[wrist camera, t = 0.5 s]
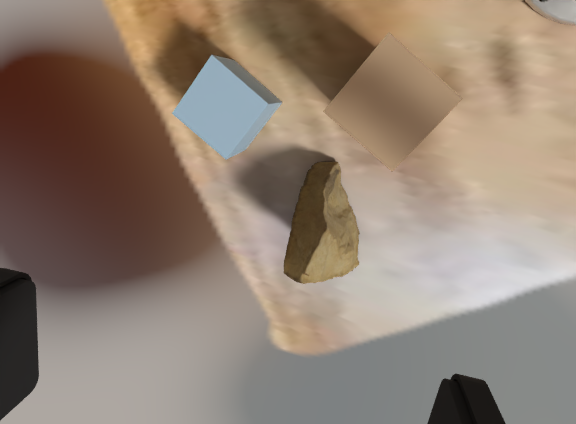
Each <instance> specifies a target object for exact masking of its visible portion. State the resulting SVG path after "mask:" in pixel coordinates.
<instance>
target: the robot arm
mask: <svg viewBox="0 0 576 424" xmlns="http://www.w3.org/2000/svg"><path fill="white" fill-rule="evenodd" d="M525 1H526V2H527V3H528V4H529V5H530V6H531V7H532V9H533V10H535V11H536V12H538V13H539V14H541V15H542V16H544V17H545V18H547V19H550V20H553V21H556V22H558V23H561V24H568V25H575V26H576V0H542V1H541V2H540V1H539V0H525ZM38 377H39V370H38V340H37V309H36V287H35V284H34V282H32V280H31V277H30V276H29V275H28V274H26V273H23V272H19V271H14V270H10V269H5V268H0V420H1V419H2V418H3V417H5V416H6V415H7V414H8V413H9V412H10V411H11V410H12V409H13V408H14V407H16V406H17V405H18V404H19V403H20V402H21V401H22V400H23V399H24V398H25V397H27V396H28V395H29V394H30V393H31V392H32V391H33V389H34V388H35V386H36V384H37V381H38ZM428 424H505V422H504V419H503V418H502V415H501V413H500V411H499V409H498V407H497V404H496V402H495V400H494V398H493V396H492V394H491V392H490V389H489V387H488V385H487V384H486V382H485V381H484V380H481V379H476V378H472V377H468V376H464V375H459V374H454V375H453V376H452V377H451V379H450V380H449V379H443V380H442V382H441V385H440V387H439V390H438V393H437V396H436V399H435V403H434V406H433V409H432V412H431V415H430V418H429V421H428Z"/></svg>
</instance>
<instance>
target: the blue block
mask: <svg viewBox="0 0 576 424" xmlns="http://www.w3.org/2000/svg"><path fill="white" fill-rule="evenodd" d="M281 104H282V101H281V100H279V99H278V98H277V97H276V96H275V95H274V94H273V93H271V92H270V91H269V90H268V89H267V88H266V87H265V86H263V85H262V84H261V83H260V82H259V81H258V80H256V79H255V78H254V77H253V76H252V75H251V74H250V73H248V72H247V71H246V70H245V69H244V68H243V67H242V66H240V65H239V64H238V63H237V62H236V61H235V60H232V59H228V58H224V57H220V56H215V55H211V56H210V58H209V59H208V61H207V62H206V64H205V65H204V67H203V68H202V70H201V71H200V73H199V74H198V76H197V77H196V79H195V80H194V82H193V83H192V85H191V86H190V88H189V89H188V91H187V92H186V94H185V95H184V97H183V98H182V99H181V101H180V102H179V104H178V105H177V107H176V108H175V110H174V111H173V113H172V114H173V115H174V116H176V117H177V118H178V119H179V120H180V121H181V122H183V123H184V124H185V125H186V126H187V127H189V128H190V129H191V130H192V131H193V132H194V133H196V134H197V135H198V136H199V137H200V138H201V139H203V140H204V141H205V142H206V143H207V144H208V145H210V146H211V147H212V148H213V149H214V150H215V151H217V152H218V153H219V154H220V155H221V156H222V157H224V158H225V159H228V158H230V157H232V156H234V155H236V154H238V153H240V152H242V151H244V150H246V148H247V147H248V146H249V145H250V143H251V142H252V141H253V139H254V138H255V137H256V136H257V134H258V133H259V132H260V130H261V129H262V128H263V127H264V125H265V124H266V123H267V121H268V120H269V119H270V118H271V116H272V115H273V114H274V113H275V111H276V110H277V109H278V107H279V106H280V105H281Z"/></svg>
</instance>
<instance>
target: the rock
mask: <svg viewBox="0 0 576 424" xmlns="http://www.w3.org/2000/svg"><path fill="white" fill-rule="evenodd" d="M340 174H341V169H340V166H339V164H338V162H317V163H315V164H314V165H313V166H312V167H311V169H310V170H308V172H307V175H306V179H305V181H304V185H303V186H302V188H301V191H300V194H299V199H298V202H297V204H296V208H295V212H294V215H293V219H292V229H291V232H290V237H289V242H288V245H287V250H286V256H285V260H284V274H286V275H287V276H288V277H290V278H291V279H293V280H294V281H296V282H299V283H303V284H305V283H316V282H323V281H326V280H328V279H333V278H334V277H342V276H344V275H346V274H348V273H349V272H350V271H353V269H354V268H356V267H357V266H358V265H359V261H358V258H357V255H358V242H359V238H358V235H359V230H358V227H357V223H356V217H355V215H354V213H353V210H352V208H351V206H349V202H348V197H347V194H346V192H345V190H344V189H343V187H342V185H341V175H340Z"/></svg>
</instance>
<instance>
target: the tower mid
mask: <svg viewBox="0 0 576 424" xmlns="http://www.w3.org/2000/svg"><path fill="white" fill-rule="evenodd" d="M462 99H463V98H462V97H460V96H459V95H458V94H457V93H456V92H455V91H454V90H453V89H452V88H450V87H449V86H448V85H447V84H446V83H445V82H444V81H443V80H442V79H440V78H439V77H438V76H437V75H436V74H435V73H434V72H433V71H432V70H431V69H429V68H428V67H427V66H426V65H425V64H424V63H423V62H422V61H421V60H419V59H418V58H417V57H416V56H415V55H414V54H413V53H412V52H411V51H409V50H408V49H407V48H406V47H405V46H404V45H403V44H402V43H401V42H399V41H398V40H397V39H396V38H395V37H394V36H393V35H392V34H391V33H388V34H387V35H386V36H385V37H384V39H383V40H382V41H381V42H380V43H379V45H378V46H377V47H376V48H375V49H374V51H373V52H372V53H371V54H370V55H369V57H368V58H367V59H366V60H365V62H364V63H363V64H362V65H361V66H360V68H359V69H358V70H357V71H356V72H355V74H354V75H353V76H352V77H351V78H350V80H349V81H348V82H347V83H346V84H345V86H344V87H343V88H342V89H341V90H340V92H339V93H338V94H337V95H336V96H335V98H334V99H333V100H332V101H331V102H330V104H329V105H328V106H327V107H326V109H325V110H324V111H323V112H325V113H326V114H327V115H328V116H329V117H330V118H331V119H333V120H334V121H335V122H336V123H337V124H338V125H339V126H340V127H342V128H343V129H344V130H345V131H346V132H347V133H348V134H350V135H351V136H352V137H353V138H354V139H355V140H356V141H358V142H359V143H360V144H361V145H362V146H363V147H364V148H366V149H367V150H368V151H369V152H370V153H371V154H372V155H374V156H375V157H376V158H377V159H378V160H379V161H380V162H382V163H383V164H384V165H385V166H386V167H387V168H388V169H390V170H391V171H392V172H393V171H394V170H395V168H396V167H397V166H398V165H399V164H400V163H401V162H402V161H403V160H404V159H405V158H406V157H407V156H408V155H409V154H410V153H411V152H412V151H413V150H414V149H415V148H416V147H417V146H418V145H419V144H420V143H421V142H422V140H423V139H424V138H425V137H426V136H427V135H428V134H429V133H430V132H431V131H432V130H433V129H434V128H435V127H436V126H437V125H438V124H439V123H440V122H441V121H442V120H443V119H444V118H445V117H446V116H447V115H448V114H449V112H450V111H451V110H452V109H453V108H454V107H455V106H456V105H457V104H458V103H459V102H460V101H461V100H462Z"/></svg>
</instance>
